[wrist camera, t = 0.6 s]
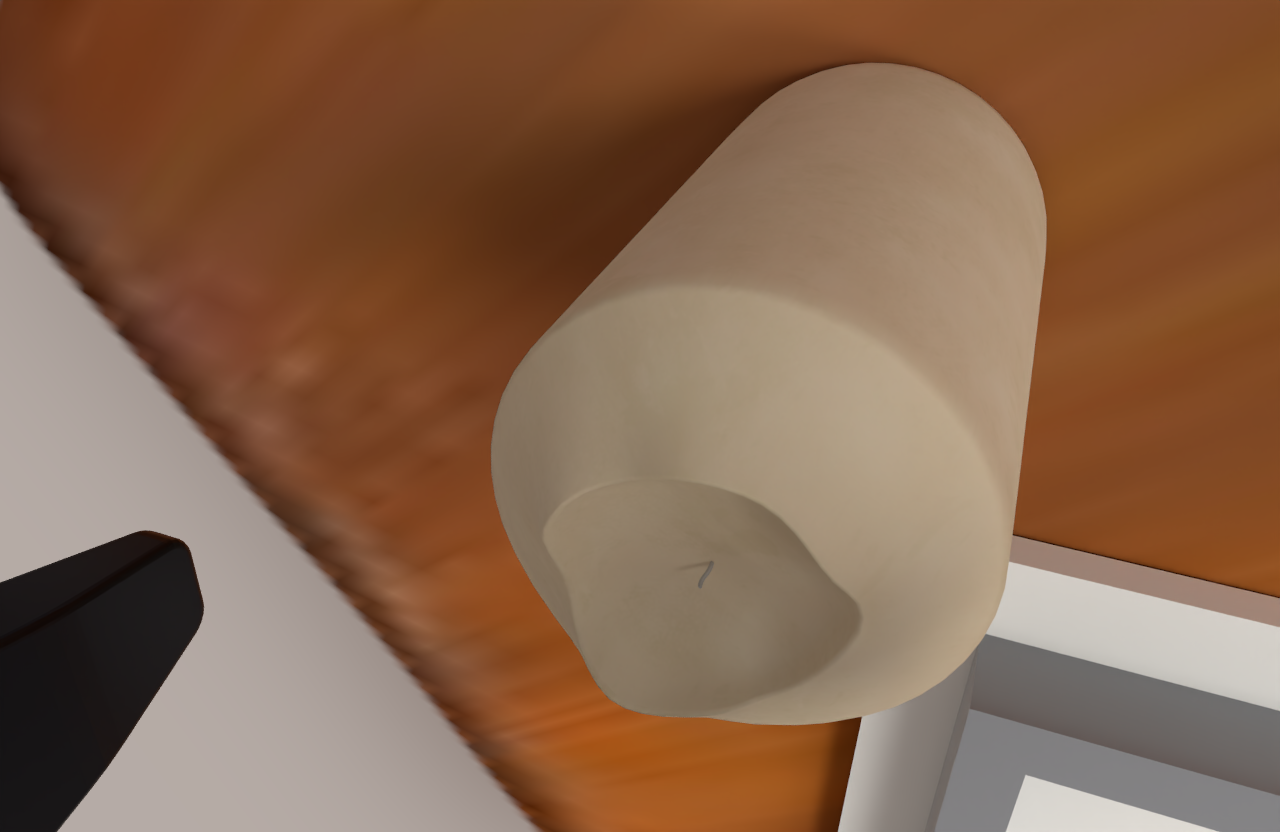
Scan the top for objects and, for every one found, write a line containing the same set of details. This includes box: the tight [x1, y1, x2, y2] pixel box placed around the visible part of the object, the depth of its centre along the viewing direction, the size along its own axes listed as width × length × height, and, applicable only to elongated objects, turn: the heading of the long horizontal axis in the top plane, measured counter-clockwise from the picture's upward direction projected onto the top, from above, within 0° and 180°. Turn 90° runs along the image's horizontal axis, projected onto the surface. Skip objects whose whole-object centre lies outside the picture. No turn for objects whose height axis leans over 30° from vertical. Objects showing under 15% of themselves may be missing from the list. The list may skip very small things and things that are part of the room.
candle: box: [491, 63, 1046, 725], centre depth 14 cm, size 6×6×10 cm
